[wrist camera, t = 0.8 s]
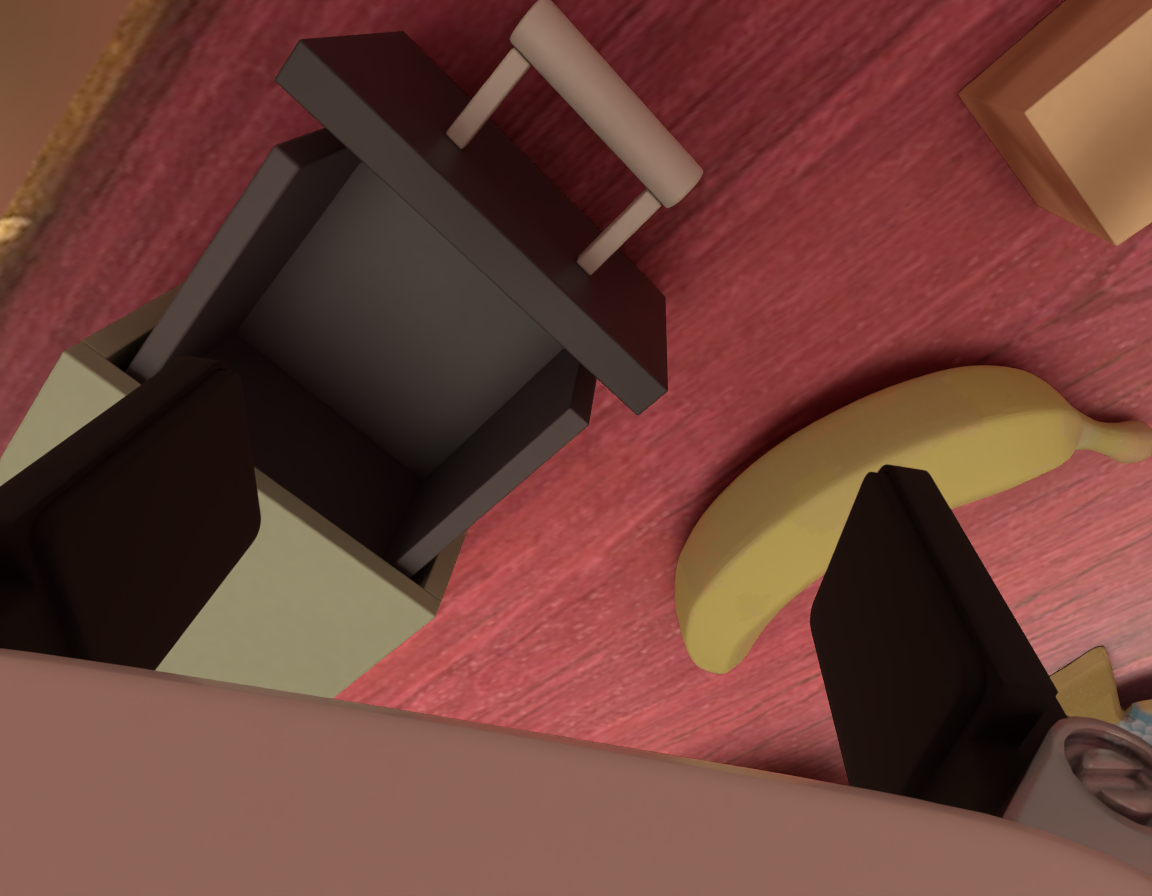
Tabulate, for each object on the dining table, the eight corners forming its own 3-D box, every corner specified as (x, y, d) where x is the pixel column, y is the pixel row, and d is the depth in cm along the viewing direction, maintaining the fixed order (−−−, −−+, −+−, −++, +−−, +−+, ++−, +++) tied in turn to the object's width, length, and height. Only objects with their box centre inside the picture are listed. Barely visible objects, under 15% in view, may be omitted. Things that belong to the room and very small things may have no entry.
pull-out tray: (487, -93, 21) (410, -139, 14) (758, 213, 25) (794, 287, 18) (207, 309, 29) (73, 399, 22) (445, 496, 33) (391, 620, 26)
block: (956, 93, 23) (1023, 112, 19) (1113, -42, 21) (1228, -56, 17) (1037, 206, 25) (1116, 246, 20) (1191, 90, 22) (1315, 109, 18)
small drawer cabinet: (233, 253, 28) (62, 350, 20) (491, 465, 32) (436, 617, 24) (89, 463, 35) (-86, 602, 27) (320, 618, 39) (231, 780, 31)
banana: (630, 561, 25) (1246, 371, 22) (608, 453, 29) (1126, 279, 26) (711, 719, 34) (1155, 601, 31) (686, 621, 38) (1076, 507, 35)
